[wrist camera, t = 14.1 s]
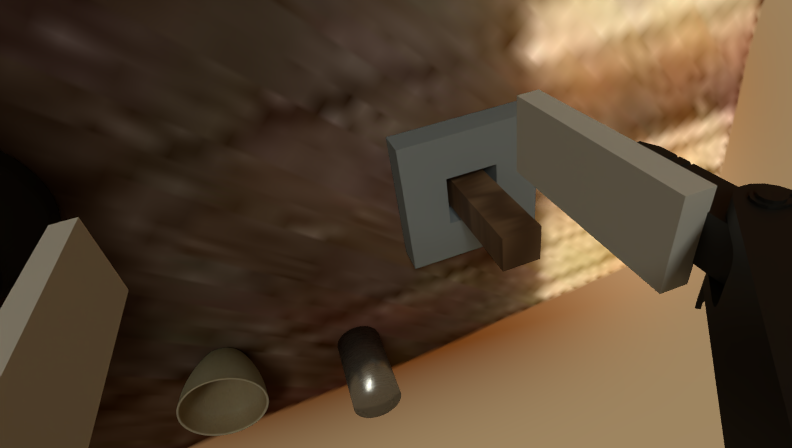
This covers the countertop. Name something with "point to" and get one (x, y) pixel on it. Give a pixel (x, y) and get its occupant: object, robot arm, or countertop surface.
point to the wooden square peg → (495, 219)
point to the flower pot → (222, 394)
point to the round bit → (368, 372)
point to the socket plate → (445, 158)
